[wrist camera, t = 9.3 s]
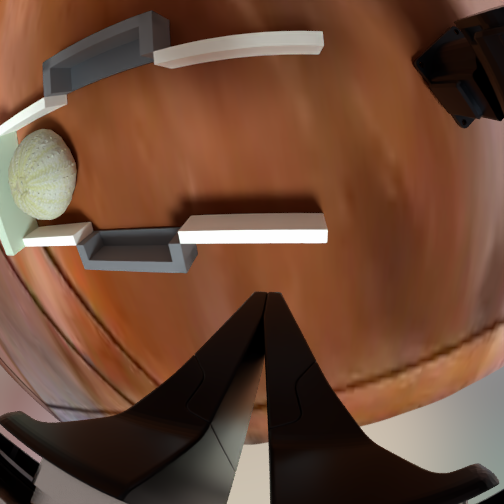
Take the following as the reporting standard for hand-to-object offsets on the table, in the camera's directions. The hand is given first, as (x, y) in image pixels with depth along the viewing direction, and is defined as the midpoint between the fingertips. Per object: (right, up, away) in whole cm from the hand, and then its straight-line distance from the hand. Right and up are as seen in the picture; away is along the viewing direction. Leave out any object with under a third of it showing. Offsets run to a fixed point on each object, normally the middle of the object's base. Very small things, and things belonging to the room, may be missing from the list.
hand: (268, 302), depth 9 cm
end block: (-27, +10, +13) cm, 32 cm away
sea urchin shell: (-21, +10, +13) cm, 26 cm away
